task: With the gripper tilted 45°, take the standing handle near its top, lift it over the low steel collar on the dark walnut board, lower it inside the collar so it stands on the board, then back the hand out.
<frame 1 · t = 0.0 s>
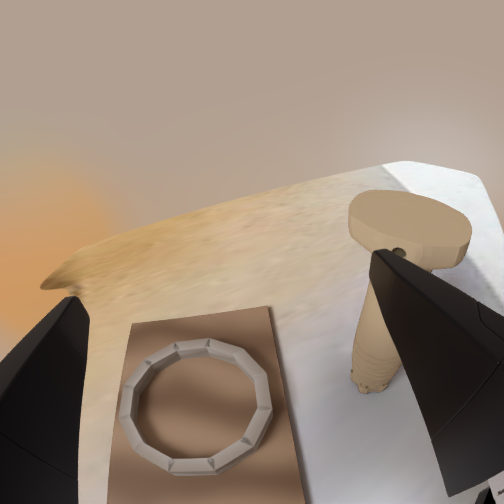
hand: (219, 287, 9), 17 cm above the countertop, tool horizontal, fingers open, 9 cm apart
handle: (369, 380, 22), on the countertop
socket board: (196, 409, 22), on the countertop
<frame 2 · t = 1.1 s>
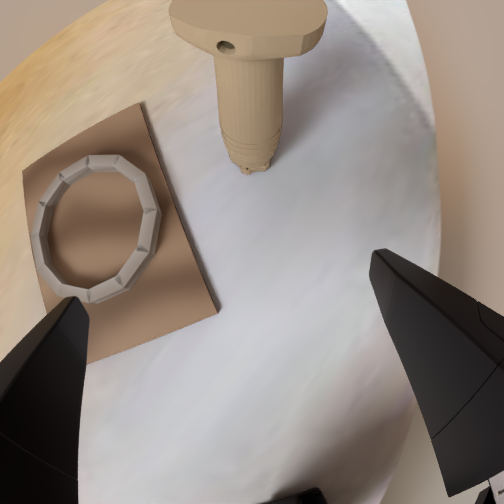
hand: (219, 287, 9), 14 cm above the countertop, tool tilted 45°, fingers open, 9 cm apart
handle: (251, 159, 24), on the countertop
socket board: (95, 229, 23), on the countertop
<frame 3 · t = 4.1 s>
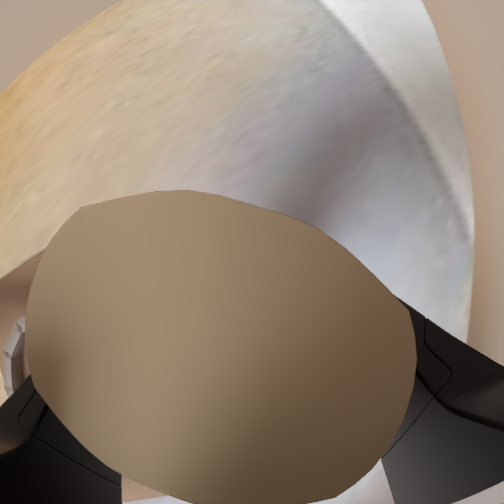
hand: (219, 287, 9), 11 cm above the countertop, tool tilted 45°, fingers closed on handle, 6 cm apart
handle: (243, 318, 19), on the countertop, touching gripper
socket board: (70, 387, 18), on the countertop
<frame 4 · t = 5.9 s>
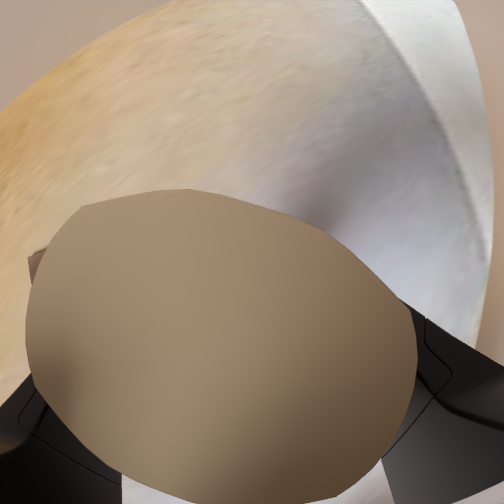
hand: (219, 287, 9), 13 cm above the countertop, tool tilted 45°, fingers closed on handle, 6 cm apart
handle: (243, 317, 19), point 2 cm above the countertop, touching gripper
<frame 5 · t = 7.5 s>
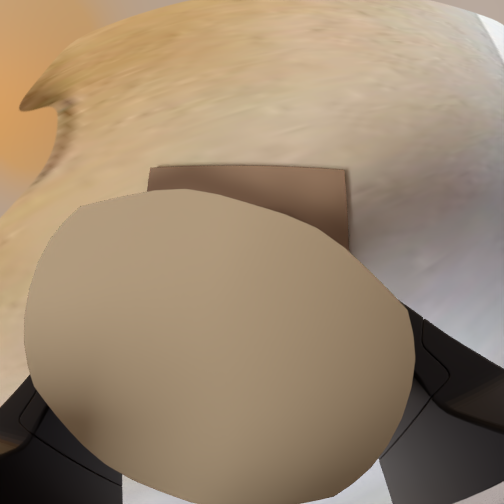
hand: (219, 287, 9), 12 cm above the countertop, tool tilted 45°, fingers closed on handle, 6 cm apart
handle: (242, 317, 19), point 1 cm above the countertop, touching gripper
socket board: (242, 312, 20), on the countertop
when the fingers open (12 cm above the countertop, at t = 7.8 s): handle stays where it is, resting on socket board.
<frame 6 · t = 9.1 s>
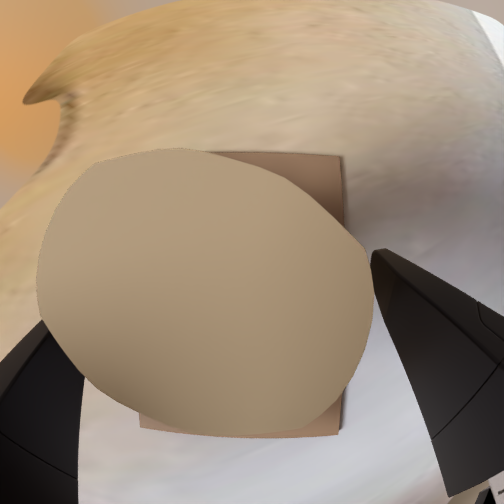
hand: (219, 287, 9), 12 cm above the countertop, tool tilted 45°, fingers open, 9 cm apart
handle: (239, 297, 20), resting on socket board
socket board: (239, 295, 20), on the countertop
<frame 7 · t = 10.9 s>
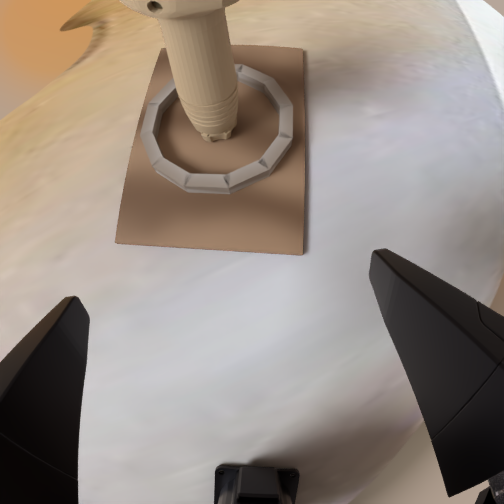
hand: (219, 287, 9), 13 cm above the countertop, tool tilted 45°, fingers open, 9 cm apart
handle: (216, 128, 23), resting on socket board
socket board: (218, 128, 24), on the countertop
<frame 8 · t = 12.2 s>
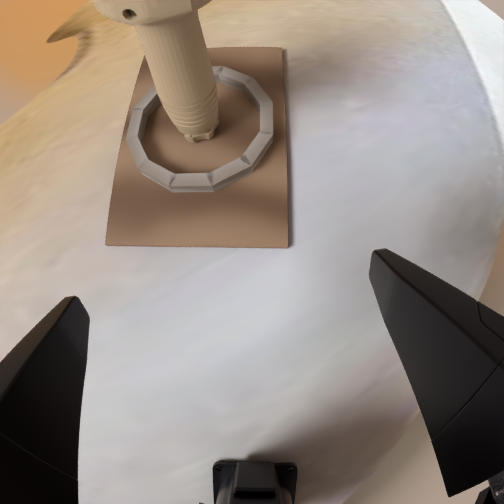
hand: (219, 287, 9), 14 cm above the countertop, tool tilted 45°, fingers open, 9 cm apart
handle: (199, 129, 24), resting on socket board
socket board: (201, 129, 24), on the countertop
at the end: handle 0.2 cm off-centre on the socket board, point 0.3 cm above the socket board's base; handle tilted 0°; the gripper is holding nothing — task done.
